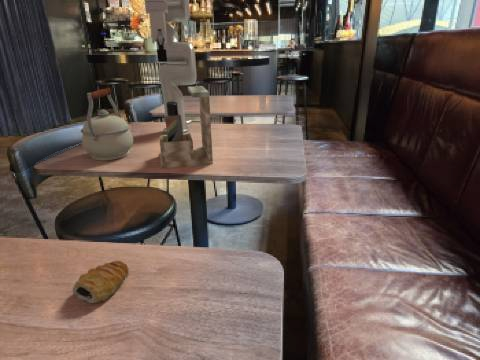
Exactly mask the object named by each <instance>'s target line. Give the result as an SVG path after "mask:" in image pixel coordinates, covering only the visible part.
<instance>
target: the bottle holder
mask: <svg viewBox="0 0 480 360" xmlns="http://www.w3.org/2000/svg"><path fill="white" fill-rule="evenodd" d="M187 92H188V93H189V94H190V97H192V98H198V99H199V115H200V132H201V143H202V146H201V147H200V146H199V147H194V141H193V138H192V134H191V132H189V133H187V132H185V133H183V141H175V142H168V139H167V134H164V135H163V134H162V135H159V147H160V169H169V168H170V169H172V168H179V167H180V168H181V167H191V166H202V165H211V164H213V163H214V162H213V161H214V159H213V142H212V141H213V140H212V123H211V121H212V120H211V103H210V92H209V90H208V89H206V87H204V86H203V85H199V86H198V85H197V86H196V85H195V86H187Z"/></svg>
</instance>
